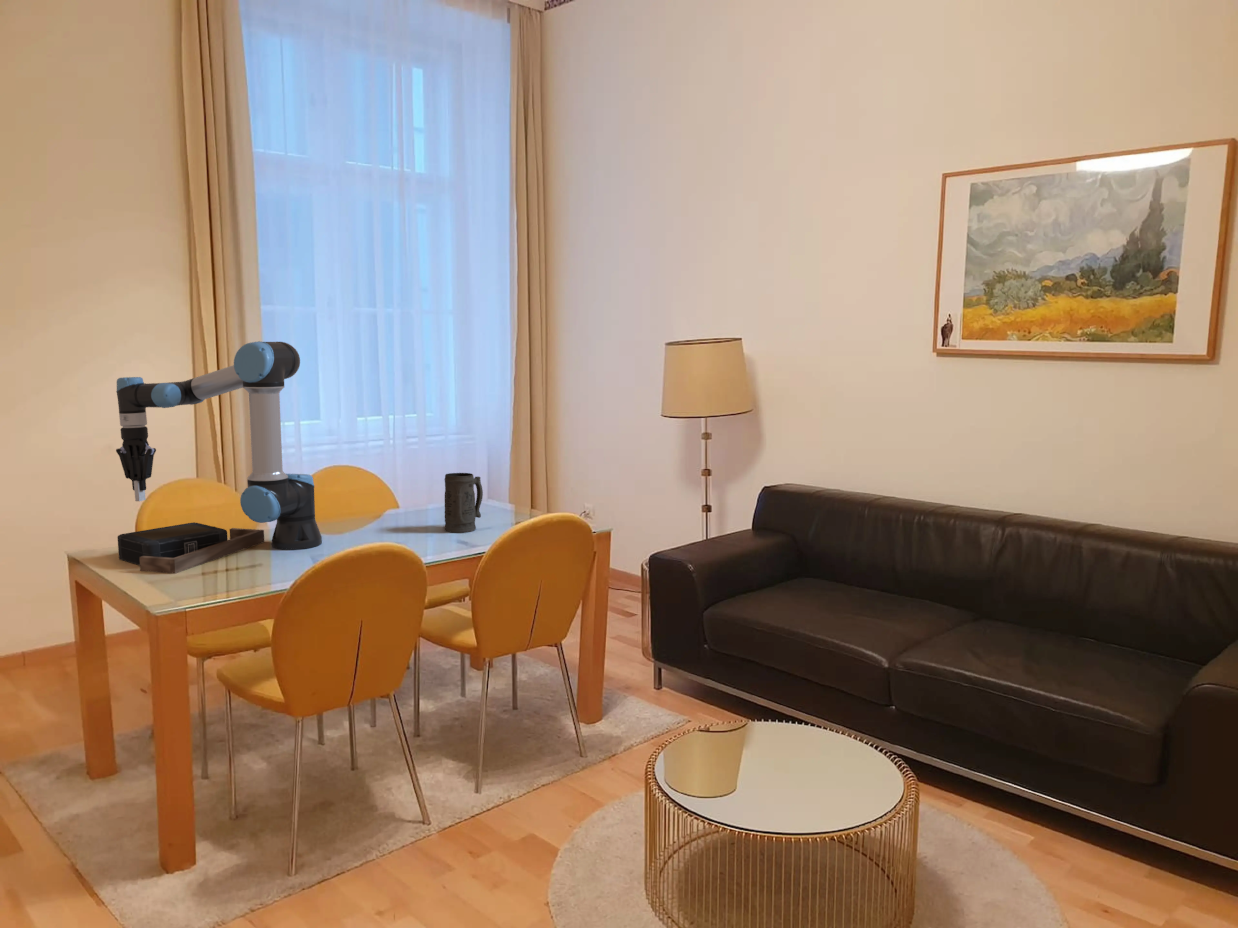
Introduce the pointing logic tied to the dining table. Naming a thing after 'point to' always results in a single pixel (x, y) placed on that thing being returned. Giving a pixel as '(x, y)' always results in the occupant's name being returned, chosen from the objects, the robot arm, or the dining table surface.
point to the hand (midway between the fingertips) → (140, 500)
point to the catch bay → (204, 552)
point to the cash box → (168, 541)
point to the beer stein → (461, 502)
